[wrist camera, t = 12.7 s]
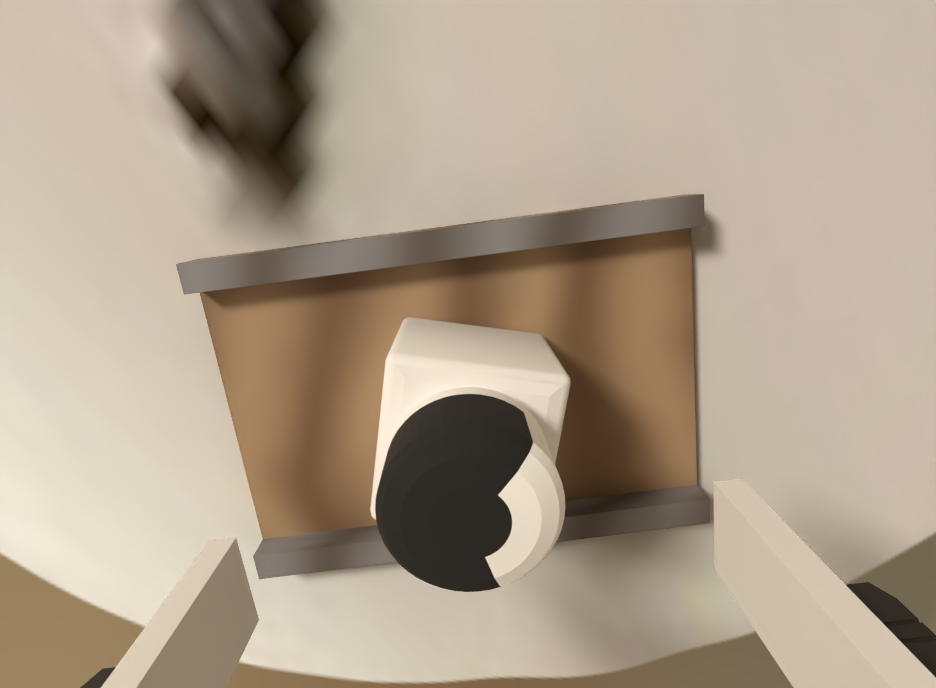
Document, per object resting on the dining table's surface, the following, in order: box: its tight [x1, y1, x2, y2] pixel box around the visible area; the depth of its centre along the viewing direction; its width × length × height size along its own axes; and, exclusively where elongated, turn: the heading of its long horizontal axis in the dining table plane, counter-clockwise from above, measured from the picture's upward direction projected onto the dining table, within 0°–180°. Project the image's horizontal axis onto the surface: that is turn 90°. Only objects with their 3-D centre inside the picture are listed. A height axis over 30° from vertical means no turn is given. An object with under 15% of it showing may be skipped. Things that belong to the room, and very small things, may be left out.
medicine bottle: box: [370, 317, 571, 592], centre depth 22 cm, size 7×7×12 cm
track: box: [176, 194, 710, 579], centre depth 28 cm, size 24×17×2 cm
